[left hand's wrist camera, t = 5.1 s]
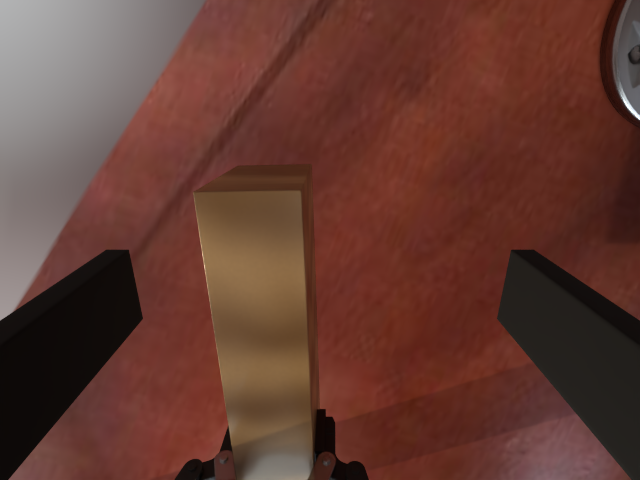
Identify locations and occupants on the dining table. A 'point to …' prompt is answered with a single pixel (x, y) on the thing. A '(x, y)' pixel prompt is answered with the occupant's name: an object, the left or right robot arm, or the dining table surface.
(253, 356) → the bar
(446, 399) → the dining table surface
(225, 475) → the right robot arm
